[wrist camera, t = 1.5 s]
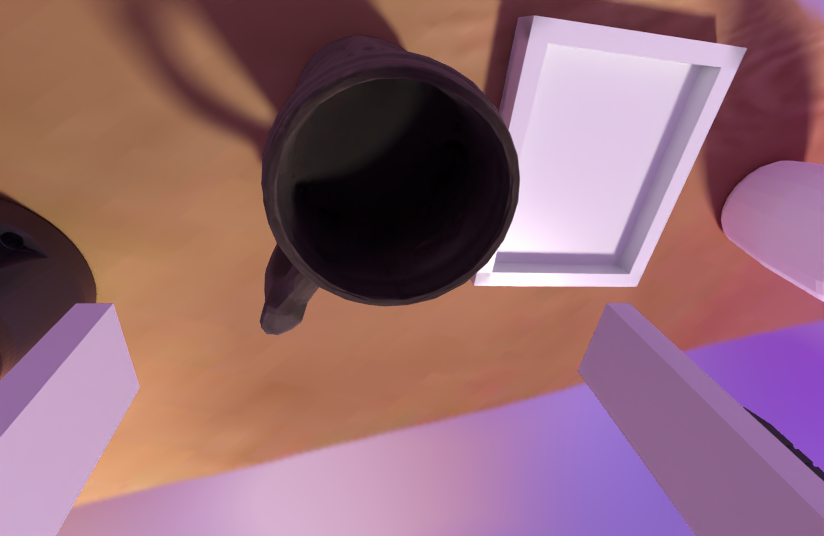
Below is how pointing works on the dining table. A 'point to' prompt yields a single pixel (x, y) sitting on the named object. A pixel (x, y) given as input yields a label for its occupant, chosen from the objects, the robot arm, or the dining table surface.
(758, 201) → the bottle
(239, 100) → the dining table surface
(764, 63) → the dining table surface
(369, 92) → the beer stein
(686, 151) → the tray
